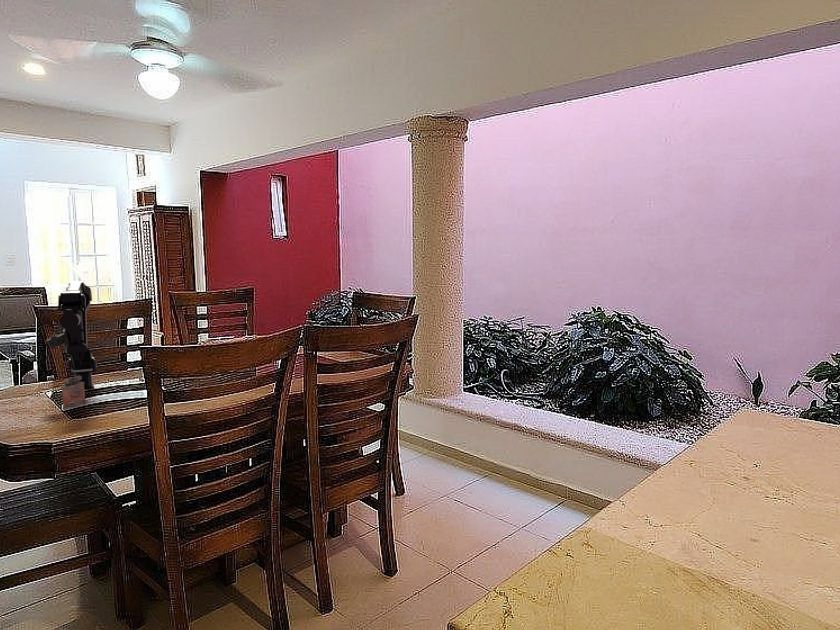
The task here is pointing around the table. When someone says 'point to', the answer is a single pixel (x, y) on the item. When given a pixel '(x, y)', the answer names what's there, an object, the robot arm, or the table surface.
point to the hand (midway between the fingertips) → (76, 368)
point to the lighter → (73, 392)
